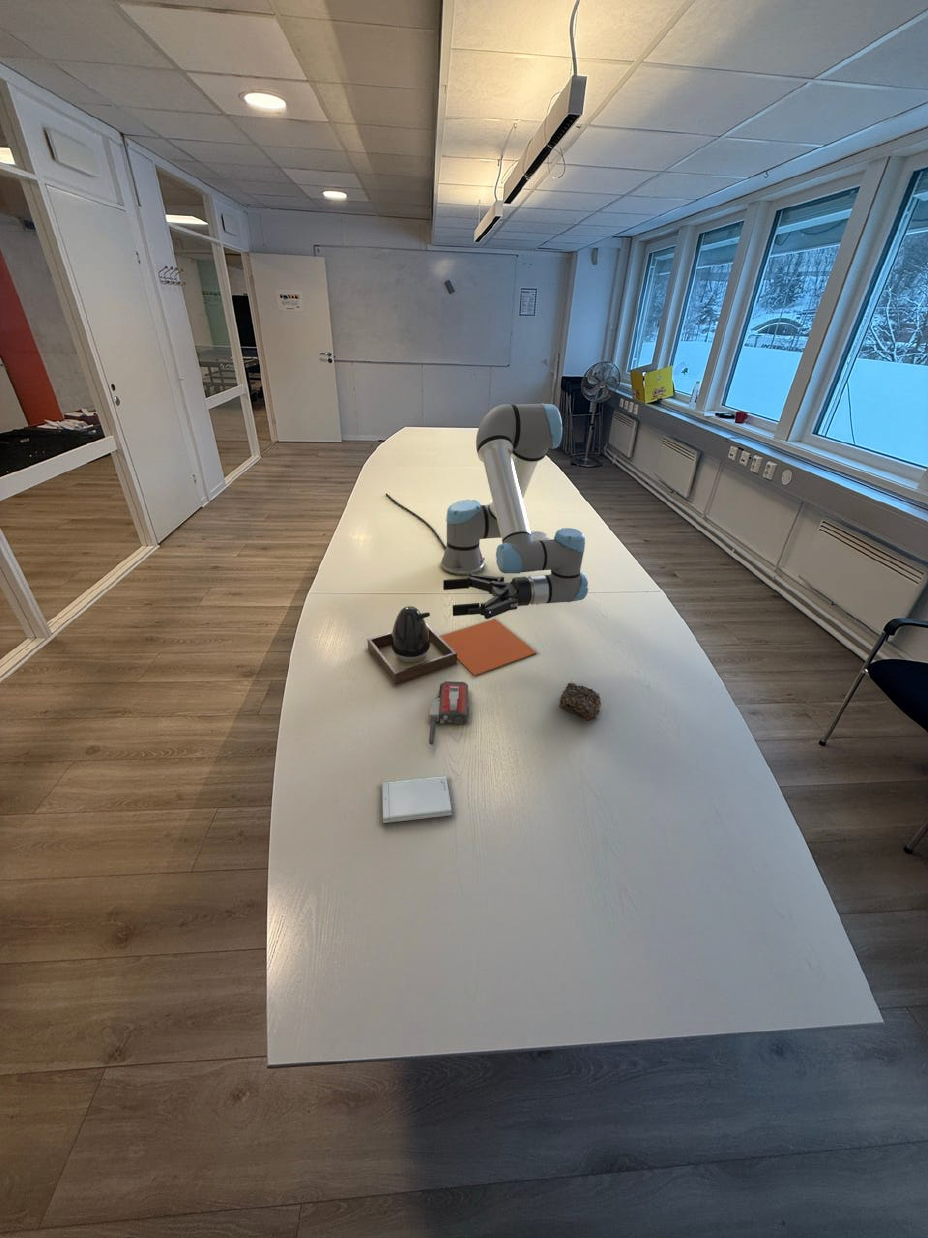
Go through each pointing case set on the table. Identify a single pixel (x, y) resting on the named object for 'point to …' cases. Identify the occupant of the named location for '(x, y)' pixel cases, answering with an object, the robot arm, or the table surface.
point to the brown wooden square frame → (416, 670)
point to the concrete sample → (581, 701)
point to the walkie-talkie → (449, 706)
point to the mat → (486, 646)
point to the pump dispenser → (410, 635)
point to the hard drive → (415, 799)
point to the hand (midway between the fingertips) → (447, 597)
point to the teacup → (539, 536)
